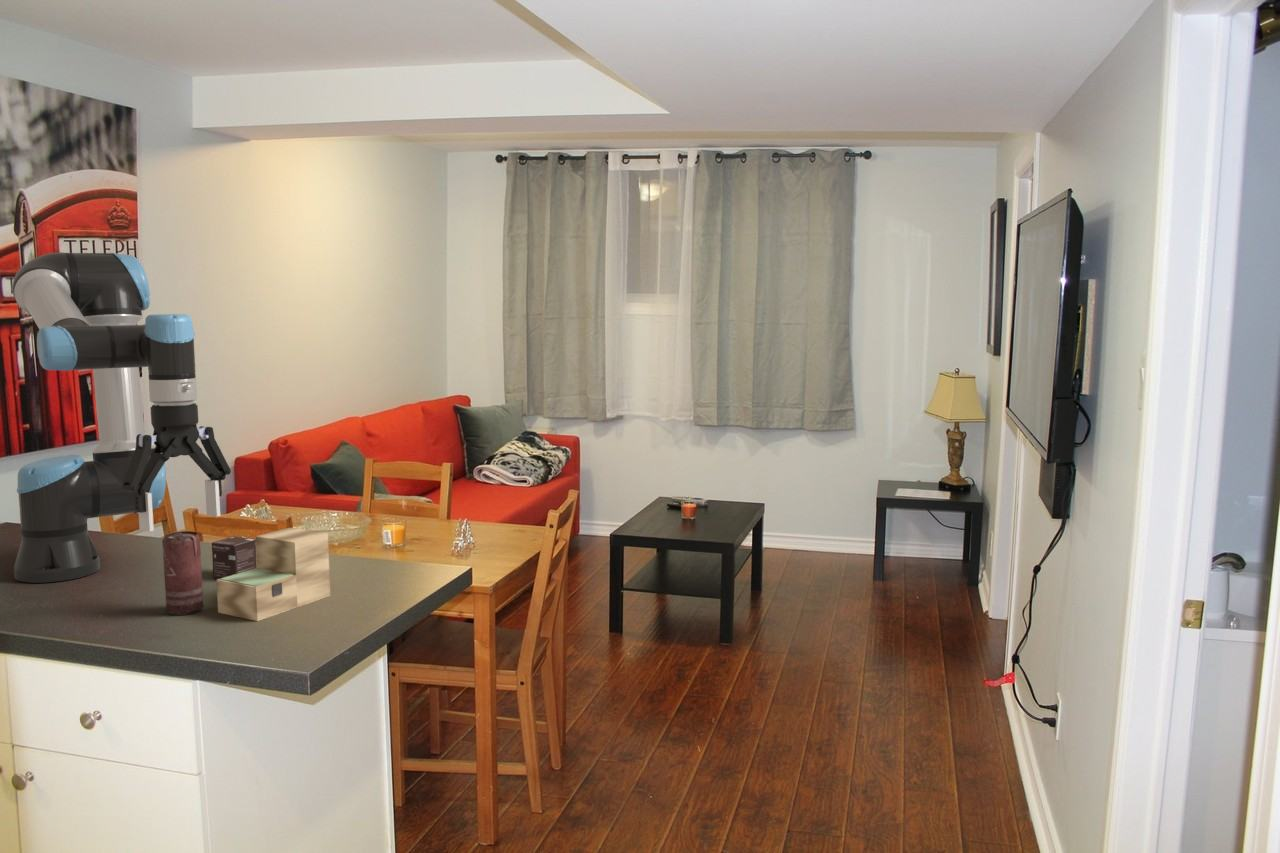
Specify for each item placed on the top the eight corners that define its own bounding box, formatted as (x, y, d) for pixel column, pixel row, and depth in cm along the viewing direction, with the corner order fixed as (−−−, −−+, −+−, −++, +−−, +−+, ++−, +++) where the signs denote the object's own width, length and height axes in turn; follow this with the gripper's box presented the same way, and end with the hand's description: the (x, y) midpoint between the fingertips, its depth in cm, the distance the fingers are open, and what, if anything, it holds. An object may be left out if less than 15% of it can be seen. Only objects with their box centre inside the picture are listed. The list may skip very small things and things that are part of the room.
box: (212, 578, 205) (210, 542, 204) (234, 570, 211) (232, 535, 210) (236, 581, 203) (234, 545, 202) (258, 573, 209) (256, 538, 208)
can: (191, 617, 181) (186, 539, 179) (159, 614, 182) (154, 537, 180) (212, 606, 187) (207, 531, 185) (180, 604, 188) (176, 529, 186)
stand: (218, 612, 183) (214, 546, 182) (292, 588, 198) (289, 527, 196) (258, 621, 178) (255, 553, 177) (331, 596, 193) (328, 533, 192)
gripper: (121, 410, 167) (130, 539, 169) (247, 397, 188) (253, 511, 191) (93, 408, 170) (101, 534, 173) (219, 396, 192) (225, 508, 195)
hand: (181, 522), depth 182 cm, fingers open, 13 cm apart
